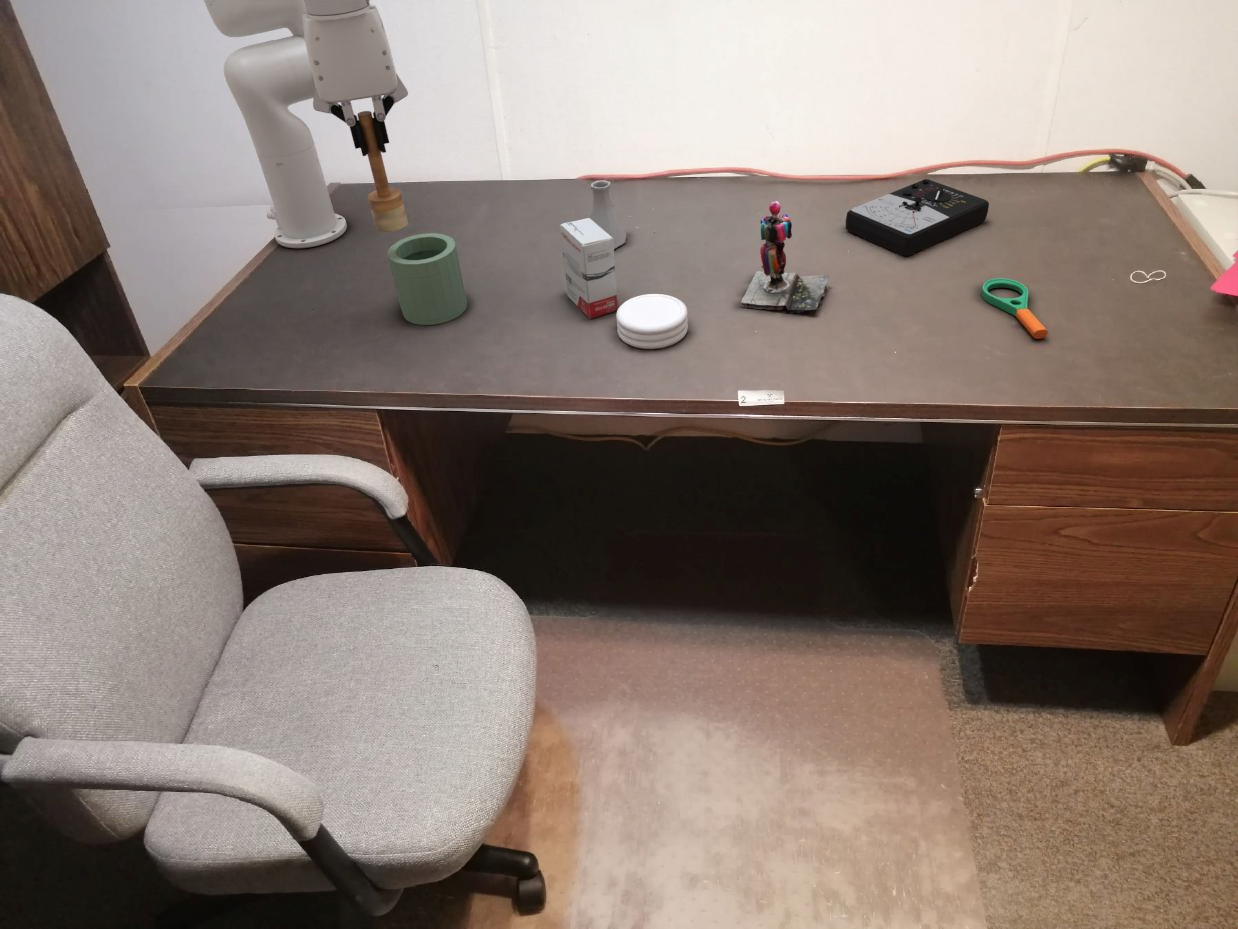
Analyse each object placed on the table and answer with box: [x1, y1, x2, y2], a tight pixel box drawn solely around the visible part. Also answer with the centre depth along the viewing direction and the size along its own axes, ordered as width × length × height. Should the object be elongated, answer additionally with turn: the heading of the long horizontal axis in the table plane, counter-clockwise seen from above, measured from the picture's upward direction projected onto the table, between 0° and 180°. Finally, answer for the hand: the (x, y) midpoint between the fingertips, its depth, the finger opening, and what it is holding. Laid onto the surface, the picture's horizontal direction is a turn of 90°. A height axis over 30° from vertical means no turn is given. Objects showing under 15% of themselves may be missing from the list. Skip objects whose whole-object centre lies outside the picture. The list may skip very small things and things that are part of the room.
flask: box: [590, 179, 627, 250], centre depth 146 cm, size 7×7×10 cm
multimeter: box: [845, 178, 990, 257], centre depth 145 cm, size 13×19×5 cm
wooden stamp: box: [356, 110, 409, 233], centre depth 121 cm, size 5×5×16 cm
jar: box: [387, 232, 468, 326], centre depth 133 cm, size 10×10×10 cm
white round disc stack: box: [615, 293, 689, 350], centre depth 125 cm, size 10×10×4 cm
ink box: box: [559, 217, 619, 319], centre depth 130 cm, size 8×5×12 cm, turn 26°
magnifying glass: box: [981, 277, 1049, 339], centre depth 123 cm, size 15×6×2 cm, turn 3°
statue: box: [740, 200, 830, 314], centre depth 127 cm, size 11×9×15 cm
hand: (373, 149), depth 119 cm, fingers closed on wooden stamp
